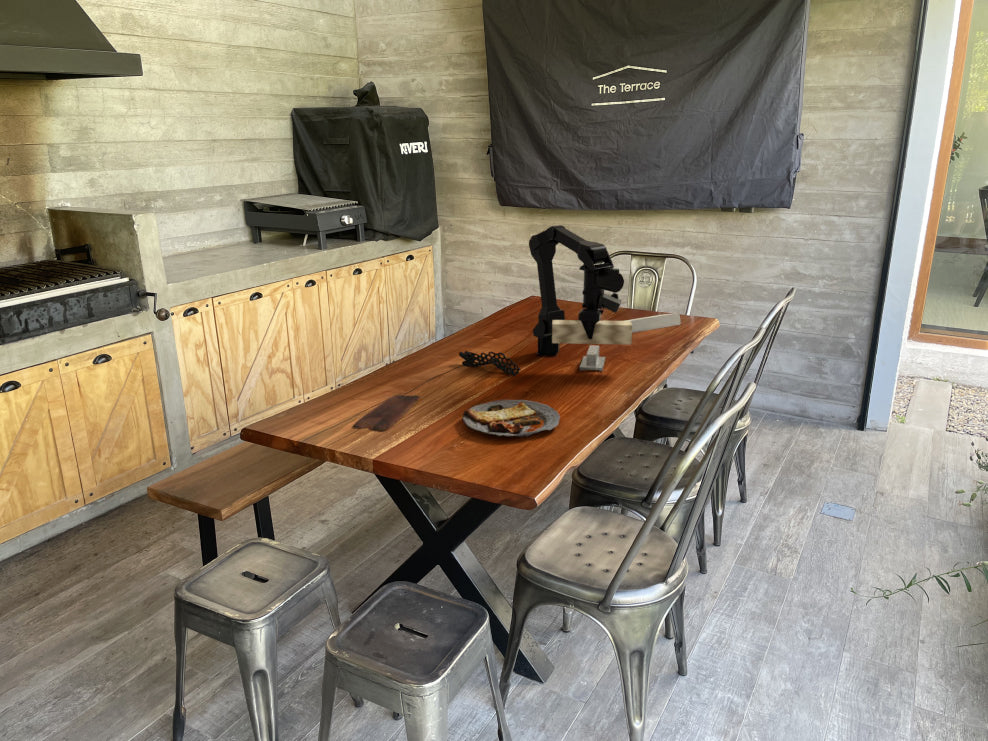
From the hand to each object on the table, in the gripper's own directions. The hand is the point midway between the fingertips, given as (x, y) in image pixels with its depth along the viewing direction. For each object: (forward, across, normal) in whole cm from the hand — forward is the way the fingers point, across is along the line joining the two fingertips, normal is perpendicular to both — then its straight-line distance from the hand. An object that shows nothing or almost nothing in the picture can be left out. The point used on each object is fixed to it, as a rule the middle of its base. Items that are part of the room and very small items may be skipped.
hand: (591, 336), depth 230 cm
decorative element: (+12, -5, +32) cm, 34 cm away
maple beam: (+2, 0, 0) cm, 2 cm away
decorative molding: (+12, +53, -11) cm, 55 cm away
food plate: (+11, -47, +15) cm, 51 cm away
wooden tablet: (+12, -46, +49) cm, 68 cm away
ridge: (+11, +5, 0) cm, 12 cm away
